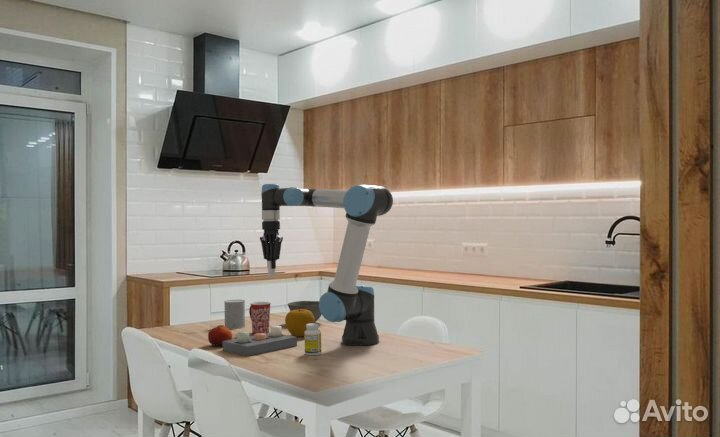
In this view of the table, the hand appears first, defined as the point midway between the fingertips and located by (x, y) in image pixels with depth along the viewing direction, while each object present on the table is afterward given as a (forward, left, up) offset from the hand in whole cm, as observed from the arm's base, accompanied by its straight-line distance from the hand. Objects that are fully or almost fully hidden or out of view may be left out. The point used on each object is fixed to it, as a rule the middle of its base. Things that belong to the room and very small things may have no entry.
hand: (271, 276), depth 256 cm
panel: (-11, +15, -26) cm, 32 cm away
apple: (-4, -12, -27) cm, 29 cm away
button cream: (-11, +7, -23) cm, 27 cm away
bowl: (+17, -35, -27) cm, 47 cm away
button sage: (-11, +23, -23) cm, 34 cm away
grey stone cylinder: (+37, -7, -27) cm, 46 cm away
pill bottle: (-35, +9, -27) cm, 45 cm away
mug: (+16, -5, -27) cm, 31 cm away
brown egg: (-11, +15, -25) cm, 31 cm away
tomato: (+6, +22, -27) cm, 35 cm away
